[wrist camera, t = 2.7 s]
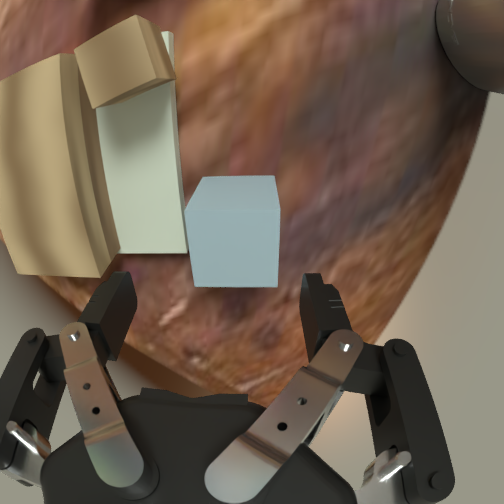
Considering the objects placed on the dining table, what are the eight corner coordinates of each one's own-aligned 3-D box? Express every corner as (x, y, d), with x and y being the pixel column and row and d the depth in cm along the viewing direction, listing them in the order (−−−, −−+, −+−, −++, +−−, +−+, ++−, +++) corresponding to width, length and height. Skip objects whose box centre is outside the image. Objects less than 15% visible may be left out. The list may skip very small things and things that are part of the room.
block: (159, 26, 14) (136, 14, 10) (176, 79, 16) (156, 78, 12) (105, 52, 14) (73, 49, 11) (122, 102, 16) (92, 109, 13)
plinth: (92, 55, 14) (59, 53, 11) (120, 247, 22) (100, 277, 19) (7, 89, 14) (-27, 97, 11) (41, 248, 22) (17, 273, 19)
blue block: (274, 175, 20) (280, 209, 15) (273, 238, 23) (277, 287, 18) (202, 176, 20) (184, 210, 15) (208, 238, 23) (194, 286, 18)
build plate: (173, 34, 15) (168, 31, 14) (190, 245, 23) (186, 253, 22) (5, 87, 15) (-4, 89, 14) (39, 247, 24) (32, 253, 23)
